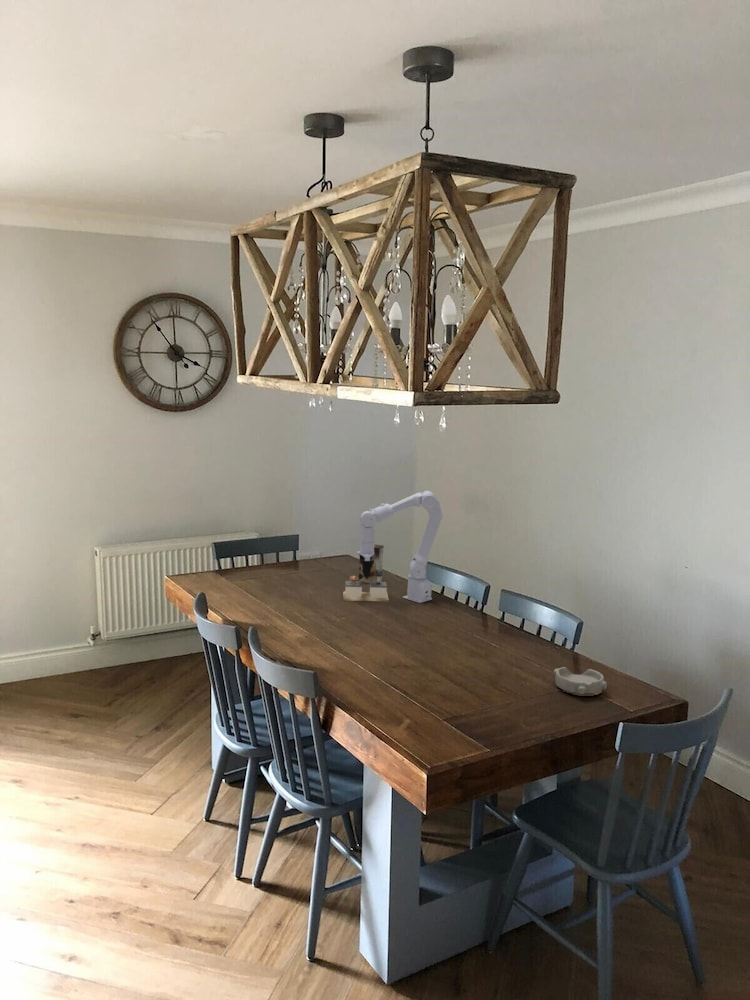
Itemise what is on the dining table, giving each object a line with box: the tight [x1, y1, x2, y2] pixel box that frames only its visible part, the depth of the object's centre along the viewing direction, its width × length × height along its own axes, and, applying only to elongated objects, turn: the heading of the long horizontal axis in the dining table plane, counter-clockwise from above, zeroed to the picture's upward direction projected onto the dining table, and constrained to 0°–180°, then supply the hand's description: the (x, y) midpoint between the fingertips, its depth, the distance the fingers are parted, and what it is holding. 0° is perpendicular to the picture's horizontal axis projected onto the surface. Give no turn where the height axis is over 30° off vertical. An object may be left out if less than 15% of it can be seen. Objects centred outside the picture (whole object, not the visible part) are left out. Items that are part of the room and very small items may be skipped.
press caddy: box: [344, 580, 388, 598], centre depth 328 cm, size 17×7×5 cm, turn 93°
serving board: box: [342, 591, 390, 602], centre depth 328 cm, size 18×10×1 cm, turn 93°
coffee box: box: [358, 544, 385, 584], centre depth 351 cm, size 9×6×16 cm
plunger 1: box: [349, 575, 359, 584], centre depth 327 cm, size 3×3×6 cm
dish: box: [553, 666, 608, 694], centre depth 241 cm, size 14×14×5 cm
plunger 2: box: [375, 569, 384, 584], centre depth 327 cm, size 3×3×6 cm
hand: (366, 574), depth 326 cm, fingers open, 7 cm apart
